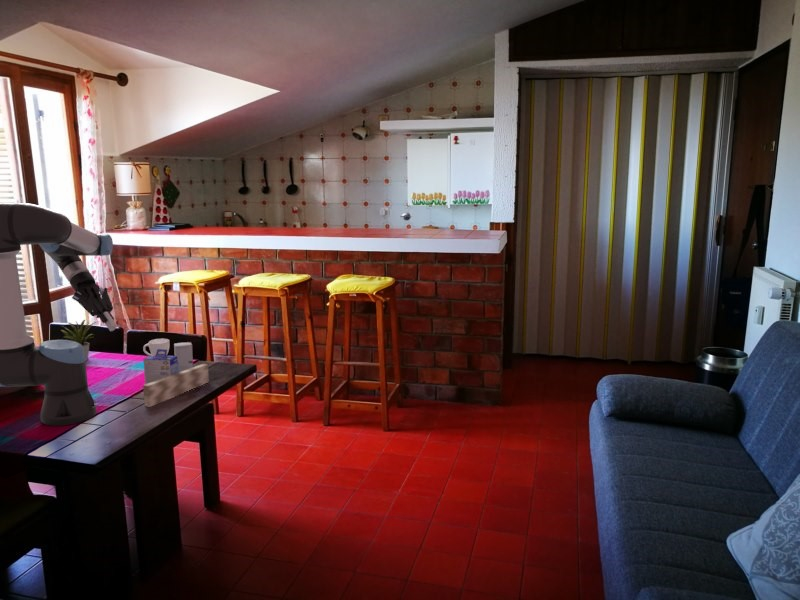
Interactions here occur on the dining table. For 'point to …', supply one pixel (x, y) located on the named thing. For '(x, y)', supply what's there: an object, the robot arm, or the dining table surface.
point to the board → (175, 384)
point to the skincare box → (183, 355)
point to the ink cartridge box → (159, 366)
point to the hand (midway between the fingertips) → (113, 328)
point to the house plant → (79, 336)
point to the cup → (157, 346)
